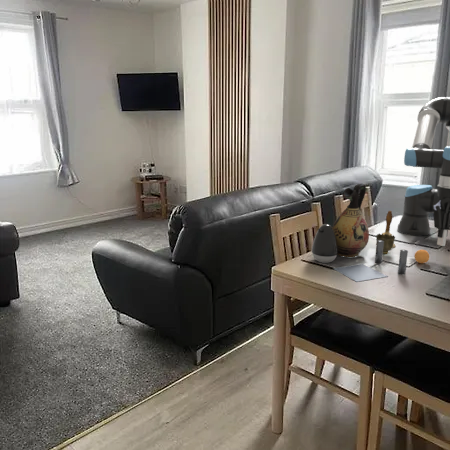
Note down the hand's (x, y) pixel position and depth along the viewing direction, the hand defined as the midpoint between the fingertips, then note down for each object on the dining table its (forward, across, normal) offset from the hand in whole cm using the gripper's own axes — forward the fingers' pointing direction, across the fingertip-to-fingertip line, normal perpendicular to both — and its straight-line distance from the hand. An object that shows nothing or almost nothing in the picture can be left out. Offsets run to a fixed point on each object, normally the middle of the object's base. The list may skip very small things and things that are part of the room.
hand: (441, 244), depth 180 cm
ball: (+4, -9, 0) cm, 10 cm away
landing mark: (+7, -39, 0) cm, 40 cm away
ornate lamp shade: (+7, -15, +15) cm, 22 cm away
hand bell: (+7, -6, +24) cm, 25 cm away
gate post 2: (+7, -25, -6) cm, 27 cm away
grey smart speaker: (+7, -44, +16) cm, 48 cm away
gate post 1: (+7, -25, +7) cm, 27 cm away
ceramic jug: (+7, -29, +20) cm, 36 cm away
